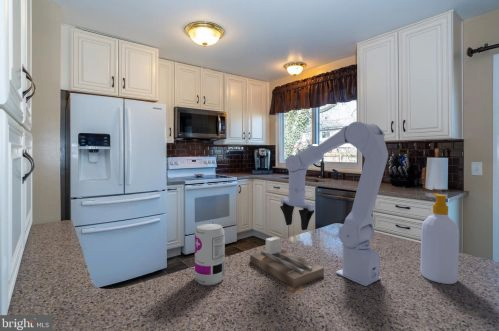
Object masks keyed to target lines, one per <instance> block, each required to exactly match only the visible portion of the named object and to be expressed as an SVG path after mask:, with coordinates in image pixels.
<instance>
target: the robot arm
mask: <svg viewBox="0 0 499 331" xmlns="http://www.w3.org/2000/svg"><path fill="white" fill-rule="evenodd" d="M346 144H350V145H351V146H352V147H354V148H356V149H357V150H358V152H360V153H361V155H362V156H363V158H364V161H363V162H364V163H363V166H362V168H361V173H360V178H359V179H358V180H359V181H358V185H357V189H356V193H355V196H354V201H353V204H352V208H351V211H350V212H349V214H348V215H347V216H346V217H345V219H344V222H343V224H341V225H342V226H340V227H339V229H338V238H339V241H340V242H341V243H342V269H339V270H336V271H335V273H336V274H337V275H339V276H341V277H344V278H345V279H346V278H347V280H351V281H352V282H355V283H356V284H360V285H362V286H363V287H364V286H365V287H367V286H369V285H372V284H374V282H377V281H379V280H380V279H382V277H381V276H380V272H381V271H380V268H381V267H380V264H381V259H380V258H381V257H380V253H379V252H378V251H377V250H375V249H373V248H371V243H370V240H372V239H373V237H374V235H375V230H374V223H375V220H374V218H373V216H372V215H373V211H374V209H375V205H376V200H377V198H378V194H379V190H380V187H381V183H382V180H383V176H384V173H385V169H386V165H387V162H388V159H389V152H388V148H387V144H386V141H385V132H384V131H383V130H382V129H381V128H380V127H379V126H378V125H377V124H375V123H367V122H366V123H365V122H362V121H353V122H351V123H349V124H348V125H345V126H343V127H342V128H341V129H340V130H339V131H338V132H336V133H334V134H333V135H332V136H329V138H327V139H326V140H323V142H321V143H320V144H316V143H314V144H312V143H310V144H307V147H306V148H305V149H303V150H301V151H297V153H296V154H289V155H288V157H287V158H286V160H285V167H286V169H287V170H288V198H280V205H279V207H280V211H281V212H282V214H283V216H284V217H283V218H284V220H285V225H286V226H291V225H292V224H293V216H294V215H293V214H294V209H295V207H296V208H298V212H299V216H300V229H301V231H307V230H308V227H309V224H310V221H311V218H312V217H313V215H314V213H315V204H314V203H310V202H307V201H306V175H307V170H308V169H309V167H310V166H312V165H314V164H317V163H318V162H320V161H322V160H323V159H324V156H325V154H327V153H329V152H331V151H333V150H334V149H337V148H339V147H341V146H343V145H346ZM299 208H300V209H299Z"/></svg>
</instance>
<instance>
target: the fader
mask: <svg viewBox="0 0 499 331" xmlns="http://www.w3.org/2000/svg"><path fill="white" fill-rule="evenodd" d="M281 249H282V238H280V237H279V236H272V237H267V238H265V251H266V253H268V254H270V255H271V254H272V255H274V256H278V255H279V253H278V252H281Z"/></svg>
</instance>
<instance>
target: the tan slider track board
mask: <svg viewBox="0 0 499 331" xmlns="http://www.w3.org/2000/svg"><path fill="white" fill-rule="evenodd" d="M278 253H279V255H278V256H274V255H272V254H271V255H270V254H268V253H266V250H264V249H263V250H261V252H256V253H253V254H252V253H251V254H250V255H249V262H250V264H252V265H254V266H256V267H257V268H259V269H261V270H263V271H264V272H266V273H268V275H269V274H270V275H271V276H273V277H274V278H276V279H278V280H280V281H282V282H284V284H286V285H289V286H290V287H291V288H293V289H296V288H299V287H300V286H303V285H305V284H308V283H309V282H313V281H315V280H318V279H319V278H322V277H324V274H325V273H324V272H325V271H324V270H325V268H324V267H323V266H321V265H319V264H316V263H314V262H312V261H309V260H307V259H306V258H303V257H301V256H298V255H296V254H294V253H291V252H289V251H286V249H285V250H284V249H282V248H281V252H278Z"/></svg>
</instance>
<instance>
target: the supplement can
mask: <svg viewBox="0 0 499 331" xmlns="http://www.w3.org/2000/svg"><path fill="white" fill-rule="evenodd" d="M225 233H226V231H225V229H224V228H223V225H222V224H220V223H216V222H206V223H201V224H198V225H197V226H196V229H195V231H194V280H195V281H196V282H197V284H200V285H202V286H213V285H214V286H215V285H218V284H220V283H221V282H222V280H224V278H225V272H226V271H225V264H226V263H225V262H226V261H225V259H226V258H225V255H226V254H225V251H226V249H225V245H226V243H225V239H226V238H225V236H226V235H225Z"/></svg>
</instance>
